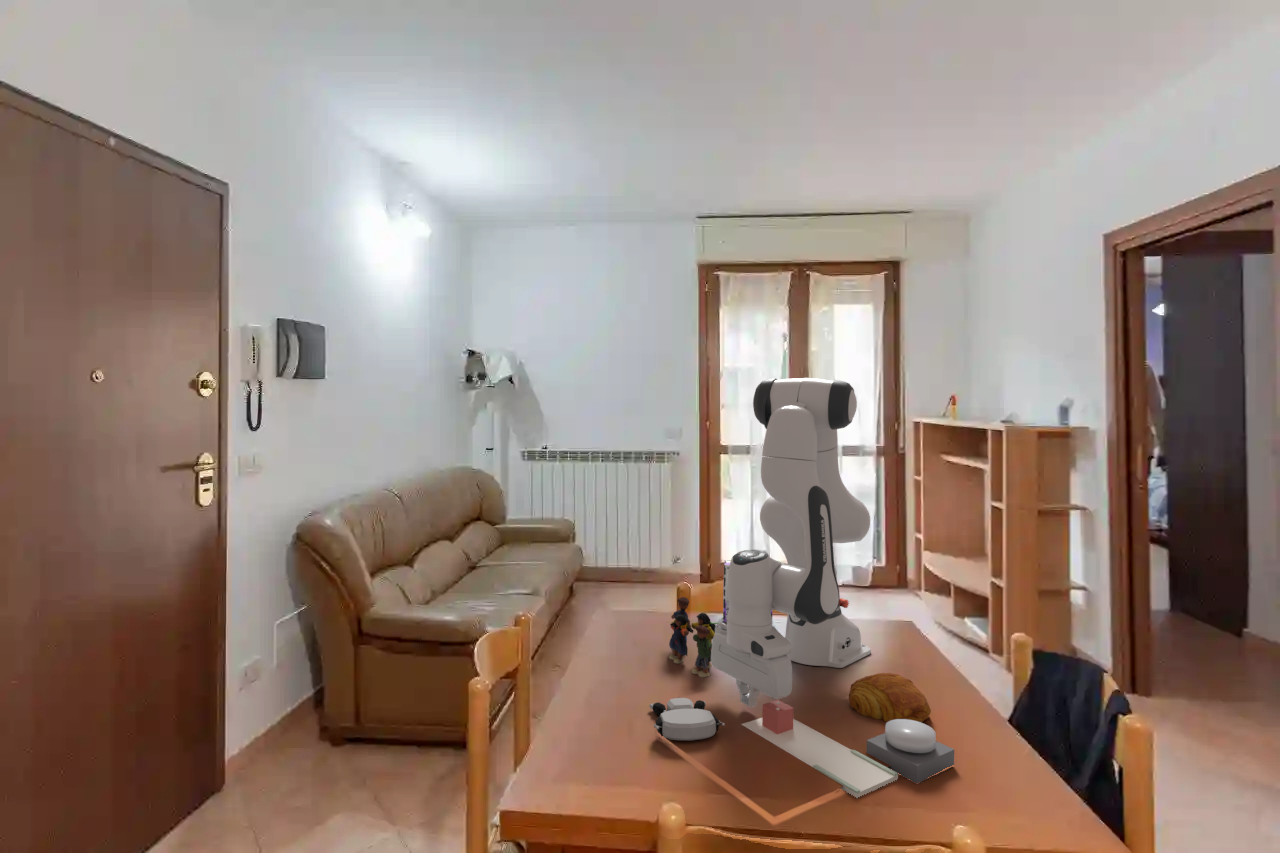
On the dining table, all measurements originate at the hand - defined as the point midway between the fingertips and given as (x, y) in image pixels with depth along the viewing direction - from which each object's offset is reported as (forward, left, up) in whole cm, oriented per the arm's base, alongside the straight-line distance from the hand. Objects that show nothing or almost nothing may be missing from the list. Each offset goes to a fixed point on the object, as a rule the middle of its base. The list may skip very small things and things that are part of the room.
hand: (748, 704), depth 134 cm
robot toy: (+14, -2, -3) cm, 15 cm away
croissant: (-25, +14, -3) cm, 29 cm away
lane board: (+1, +17, -2) cm, 17 cm away
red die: (0, +8, -1) cm, 8 cm away
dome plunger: (-12, +28, -1) cm, 30 cm away
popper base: (-12, +28, -2) cm, 30 cm away
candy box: (-40, -45, -2) cm, 60 cm away
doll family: (-8, -29, -2) cm, 30 cm away
